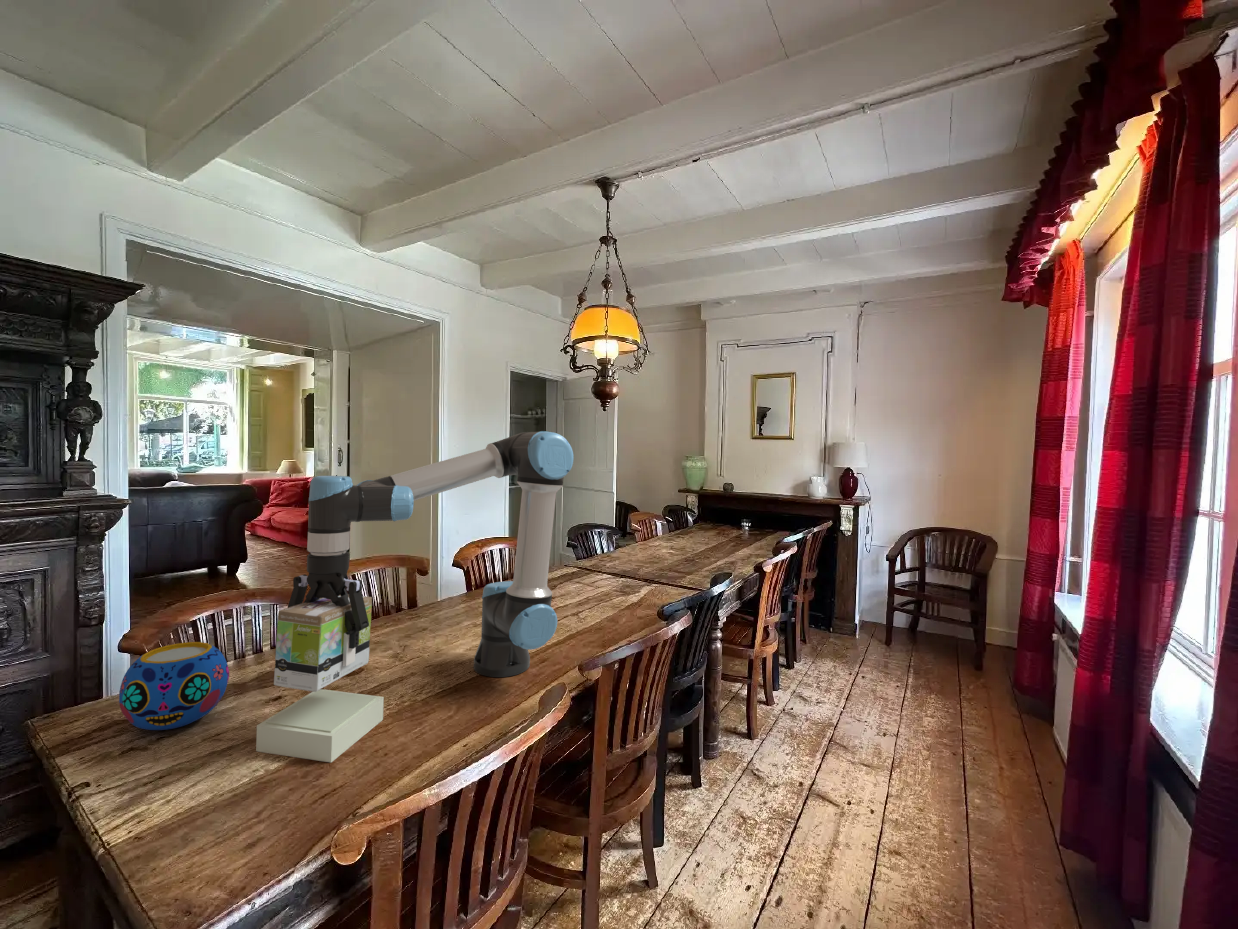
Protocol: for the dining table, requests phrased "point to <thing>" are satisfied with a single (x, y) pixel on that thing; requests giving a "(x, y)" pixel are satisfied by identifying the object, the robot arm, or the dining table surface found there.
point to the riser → (320, 725)
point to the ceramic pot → (173, 685)
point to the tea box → (316, 644)
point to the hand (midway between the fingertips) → (325, 660)
